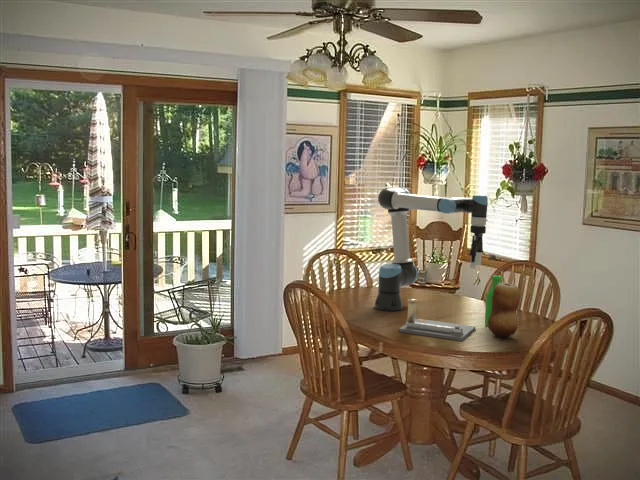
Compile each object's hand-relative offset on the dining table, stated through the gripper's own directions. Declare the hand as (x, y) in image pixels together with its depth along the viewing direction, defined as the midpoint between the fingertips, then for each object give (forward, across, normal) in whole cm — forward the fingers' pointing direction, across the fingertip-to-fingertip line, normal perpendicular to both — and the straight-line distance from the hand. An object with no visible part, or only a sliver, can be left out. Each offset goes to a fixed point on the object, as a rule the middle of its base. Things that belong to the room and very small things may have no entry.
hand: (475, 266), depth 348 cm
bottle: (+27, -12, -13) cm, 32 cm away
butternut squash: (+26, -32, -20) cm, 46 cm away
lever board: (+26, -37, +9) cm, 46 cm away
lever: (+25, -43, +9) cm, 51 cm away
